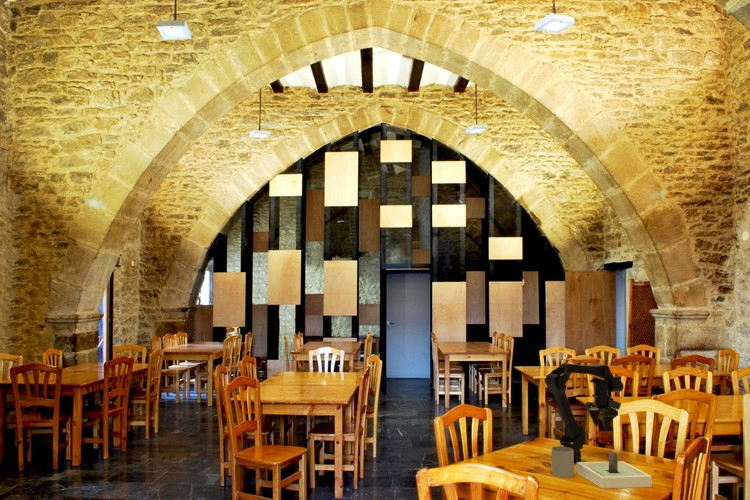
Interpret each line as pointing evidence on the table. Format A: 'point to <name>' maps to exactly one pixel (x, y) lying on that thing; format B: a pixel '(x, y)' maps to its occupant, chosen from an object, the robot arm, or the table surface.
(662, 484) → the table surface
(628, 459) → the table surface
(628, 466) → the tray
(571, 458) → the cup
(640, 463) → the table surface
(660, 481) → the table surface
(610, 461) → the peg
